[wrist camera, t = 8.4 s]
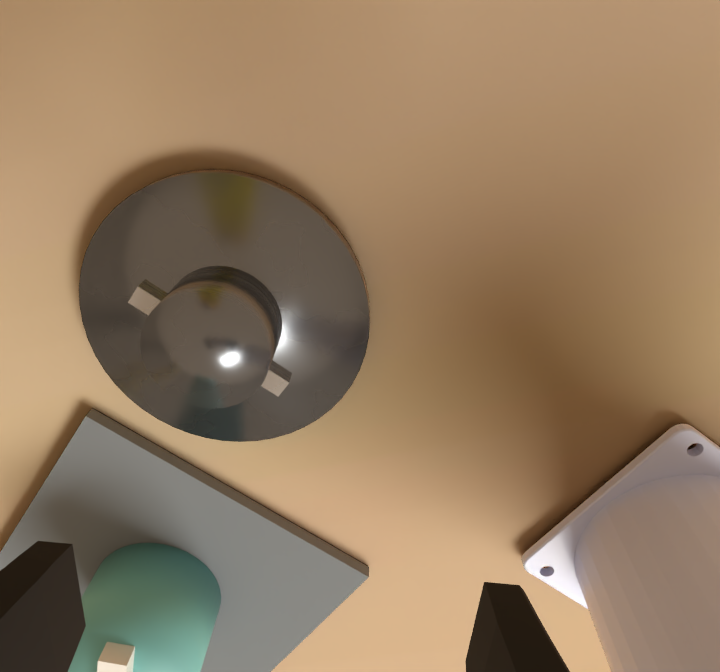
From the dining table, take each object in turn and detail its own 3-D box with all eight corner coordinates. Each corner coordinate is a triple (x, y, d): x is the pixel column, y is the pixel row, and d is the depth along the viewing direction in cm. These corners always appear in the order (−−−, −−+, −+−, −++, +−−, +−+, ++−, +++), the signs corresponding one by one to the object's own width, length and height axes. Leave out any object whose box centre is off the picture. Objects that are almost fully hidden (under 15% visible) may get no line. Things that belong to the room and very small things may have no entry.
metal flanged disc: (428, 287, 18) (434, 324, 16) (272, 473, 22) (256, 528, 19) (172, 102, 16) (133, 110, 14) (43, 338, 20) (-8, 379, 17)
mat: (368, 566, 23) (368, 576, 23) (215, 716, 28) (213, 727, 27) (92, 408, 21) (85, 416, 20) (-29, 600, 25) (-37, 610, 25)
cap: (213, 647, 25) (178, 766, 20) (92, 626, 24) (31, 742, 20) (228, 555, 23) (193, 665, 18) (97, 532, 23) (31, 638, 18)
